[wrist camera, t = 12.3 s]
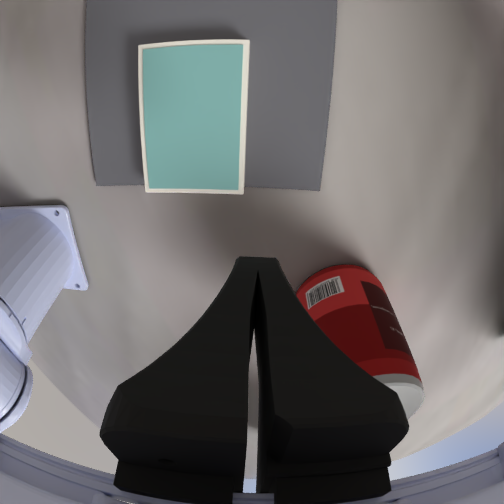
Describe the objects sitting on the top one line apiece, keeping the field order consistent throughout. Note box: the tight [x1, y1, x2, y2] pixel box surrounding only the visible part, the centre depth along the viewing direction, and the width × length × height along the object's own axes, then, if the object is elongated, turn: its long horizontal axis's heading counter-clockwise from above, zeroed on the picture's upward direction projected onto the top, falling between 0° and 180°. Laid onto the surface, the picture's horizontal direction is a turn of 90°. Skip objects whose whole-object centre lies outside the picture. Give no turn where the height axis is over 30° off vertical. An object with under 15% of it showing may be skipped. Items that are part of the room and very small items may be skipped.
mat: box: [85, 0, 337, 191], centre depth 16 cm, size 15×14×1 cm
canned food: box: [296, 265, 425, 420], centre depth 21 cm, size 8×8×11 cm
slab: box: [138, 39, 250, 194], centre depth 17 cm, size 9×2×6 cm
